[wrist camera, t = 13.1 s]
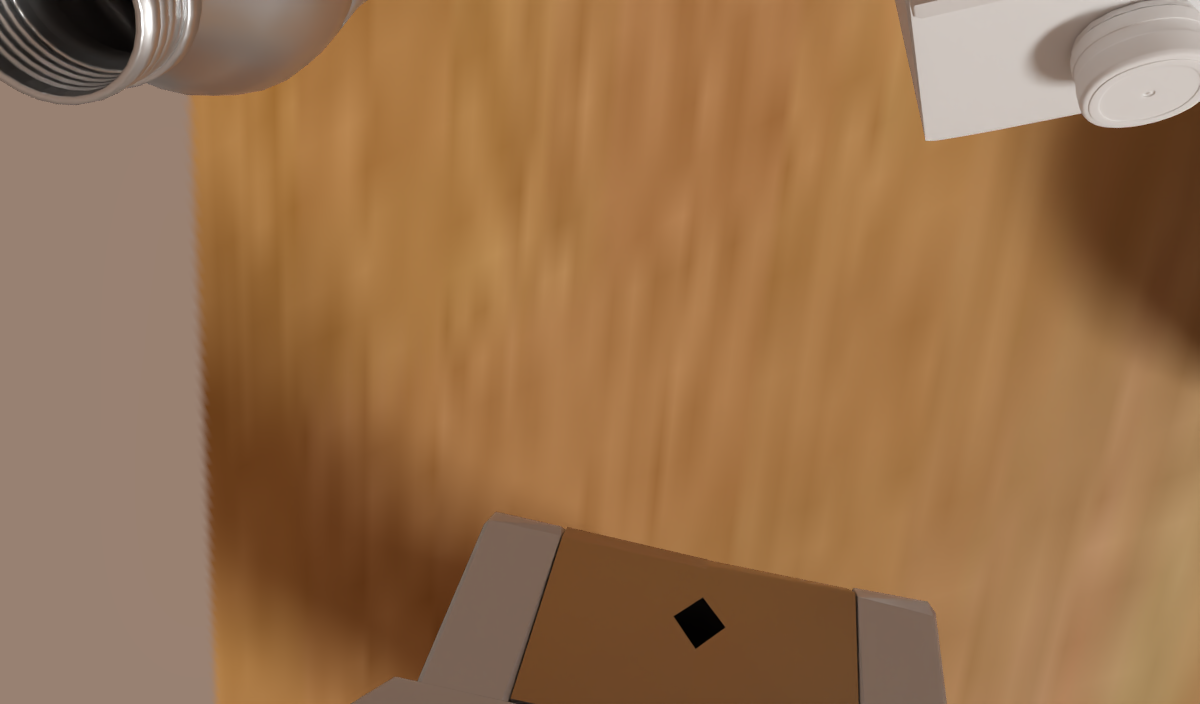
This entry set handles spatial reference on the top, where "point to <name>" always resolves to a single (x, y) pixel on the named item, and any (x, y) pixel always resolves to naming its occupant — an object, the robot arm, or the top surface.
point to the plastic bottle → (160, 44)
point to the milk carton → (1049, 61)
